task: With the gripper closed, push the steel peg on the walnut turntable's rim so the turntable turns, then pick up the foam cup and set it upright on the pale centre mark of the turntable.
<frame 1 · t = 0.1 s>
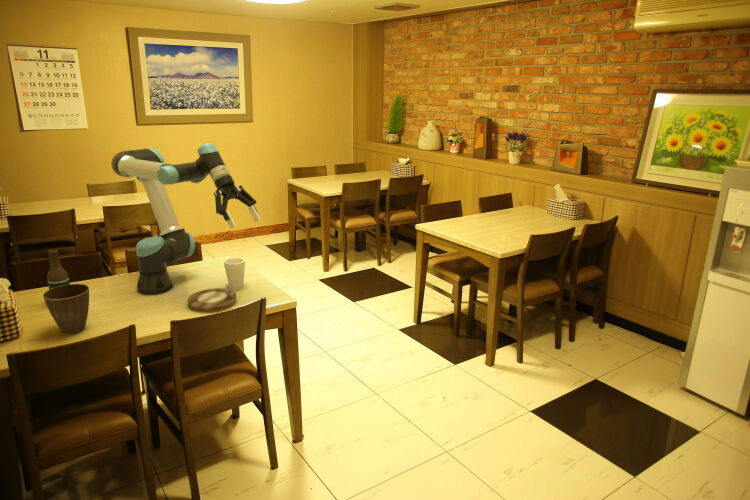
hand: (245, 223, 210), 36 cm above the table, tool tilted 35°, fingers open, 13 cm apart
beer bottle: (62, 303, 218), on the table
plant pot: (73, 330, 195), on the table
foam cup: (236, 287, 239), on the table
turntable: (211, 292, 219), point 5 cm above the table, hinge at 0.0°
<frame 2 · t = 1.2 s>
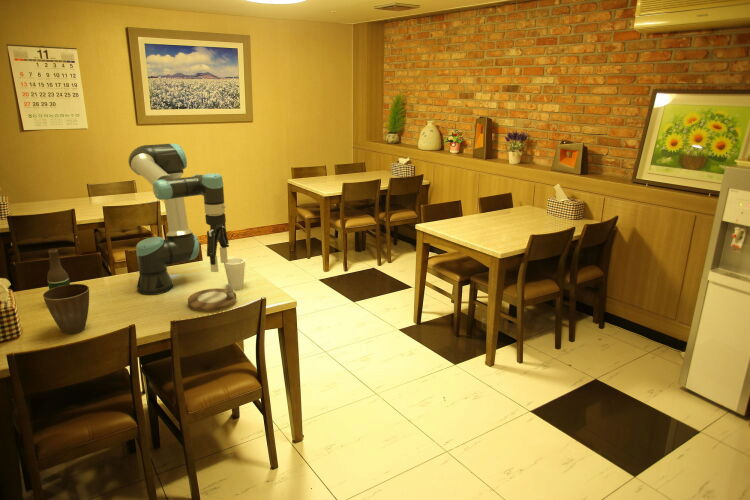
hand: (219, 267, 207), 20 cm above the table, tool pointing down, fingers open, 10 cm apart
nothing on the table moved.
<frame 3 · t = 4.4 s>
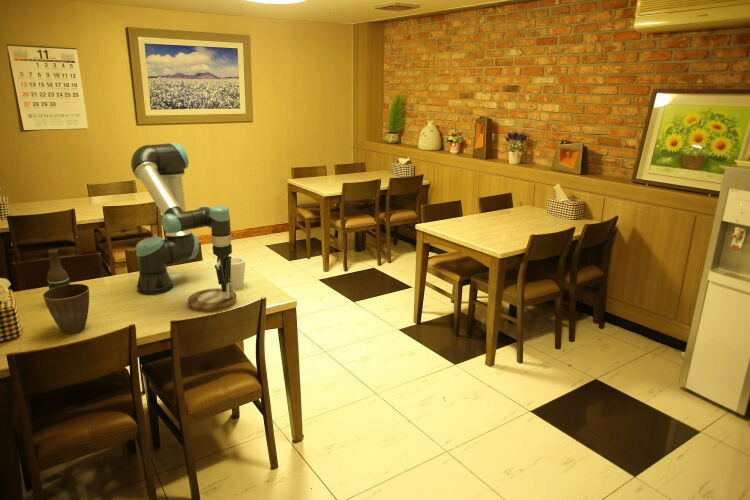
hand: (226, 297, 216), 4 cm above the table, tool pointing down, fingers closed
turntable: (211, 292, 219), point 5 cm above the table, hinge at 1.3°, touching gripper
everything else where it was.
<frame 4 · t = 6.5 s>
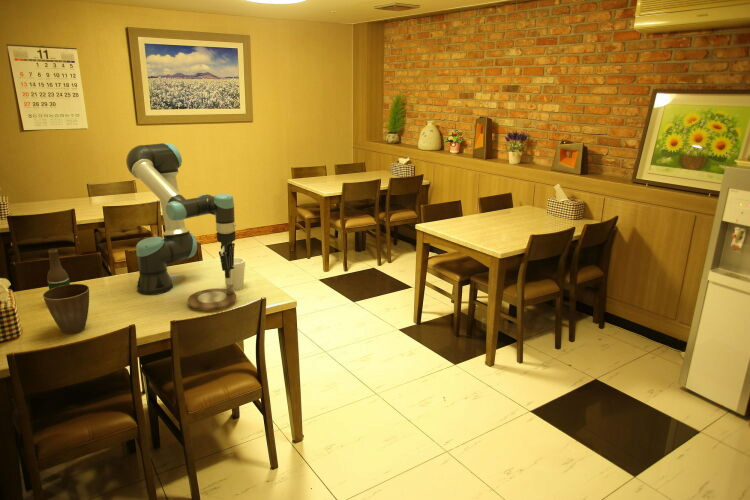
hand: (229, 283, 220), 8 cm above the table, tool pointing down, fingers closed
turntable: (211, 292, 219), point 5 cm above the table, hinge at 38.8°
everything else where it was.
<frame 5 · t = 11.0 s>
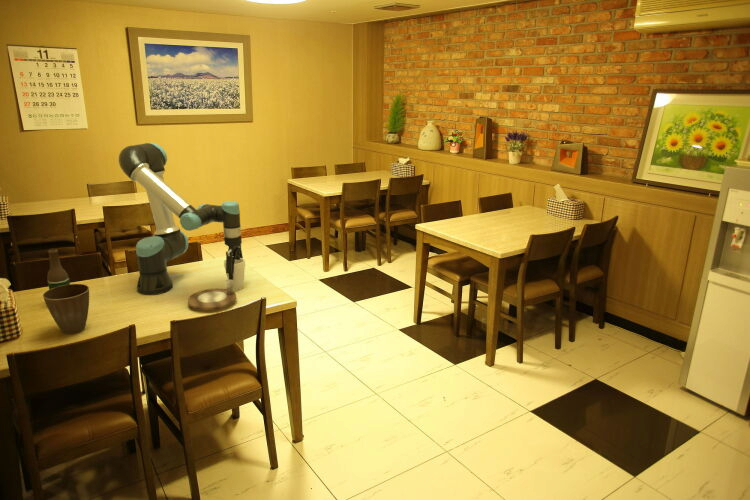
hand: (236, 282, 238), 3 cm above the table, tool pointing down, fingers closed on foam cup, 9 cm apart
foam cup: (236, 287, 239), on the table, touching gripper
everything else where it was.
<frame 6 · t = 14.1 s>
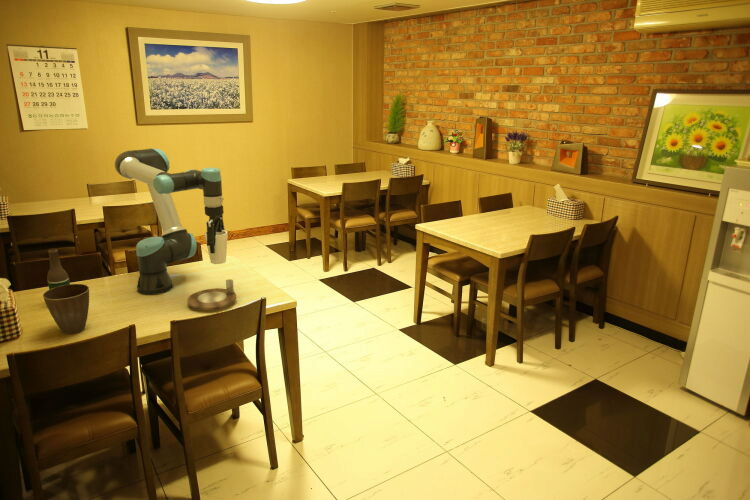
hand: (217, 256, 221), 19 cm above the table, tool pointing down, fingers closed on foam cup, 9 cm apart
foam cup: (218, 262, 222), point 17 cm above the table, touching gripper
everything else where it was.
when the fingers open (7 cm above the table, at t = 17.5 s): foam cup drops 1 cm, resting on turntable.
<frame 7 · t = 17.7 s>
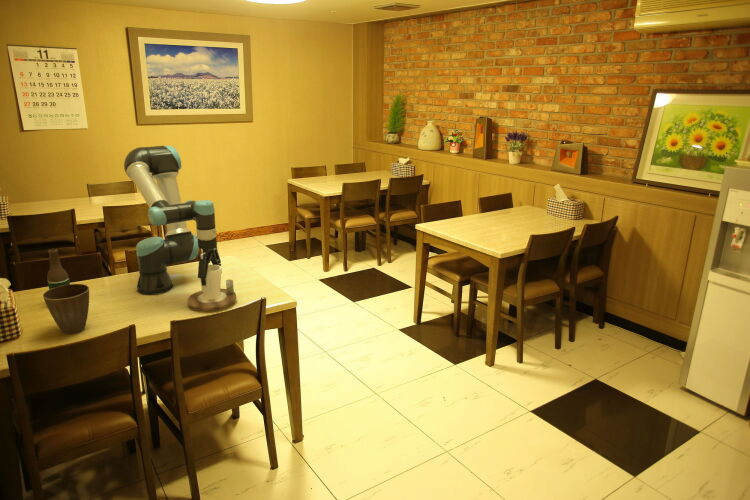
hand: (211, 286, 218), 8 cm above the table, tool pointing down, fingers open, 12 cm apart
foam cup: (212, 297, 220), point 3 cm above the table, touching turntable
turntable: (211, 292, 219), point 5 cm above the table, hinge at 38.8°, touching foam cup
everything else where it was.
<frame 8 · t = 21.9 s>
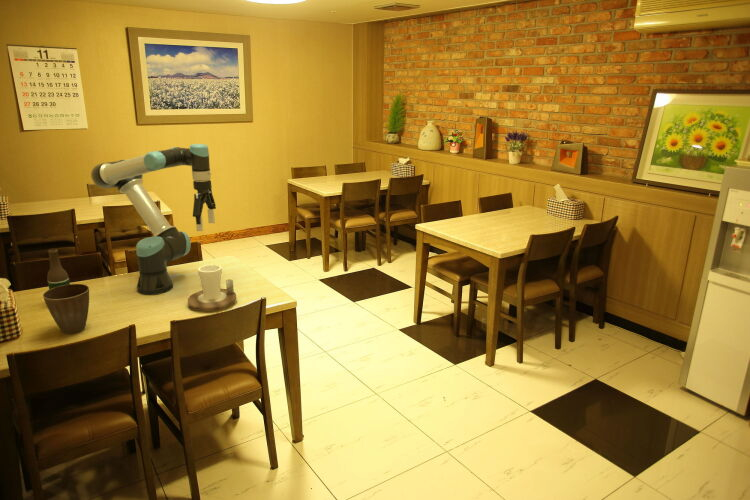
hand: (206, 227, 231), 29 cm above the table, tool pointing down, fingers open, 13 cm apart
nothing on the table moved.
at the end: turntable at +39° (first picture: +0°); foam cup 0.2 cm off-centre on the turntable, point 2.8 cm above the turntable's base; foam cup tilted 0° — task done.
